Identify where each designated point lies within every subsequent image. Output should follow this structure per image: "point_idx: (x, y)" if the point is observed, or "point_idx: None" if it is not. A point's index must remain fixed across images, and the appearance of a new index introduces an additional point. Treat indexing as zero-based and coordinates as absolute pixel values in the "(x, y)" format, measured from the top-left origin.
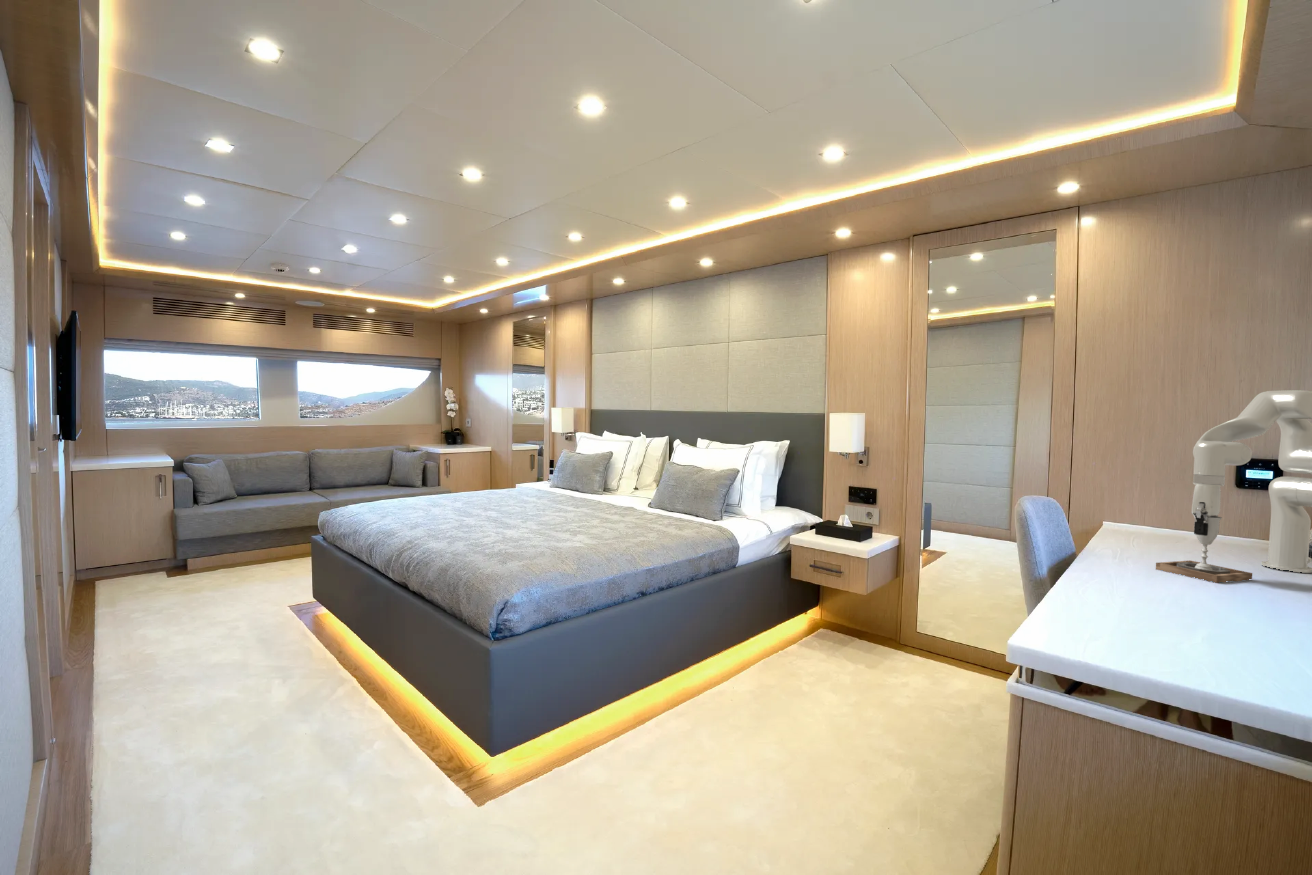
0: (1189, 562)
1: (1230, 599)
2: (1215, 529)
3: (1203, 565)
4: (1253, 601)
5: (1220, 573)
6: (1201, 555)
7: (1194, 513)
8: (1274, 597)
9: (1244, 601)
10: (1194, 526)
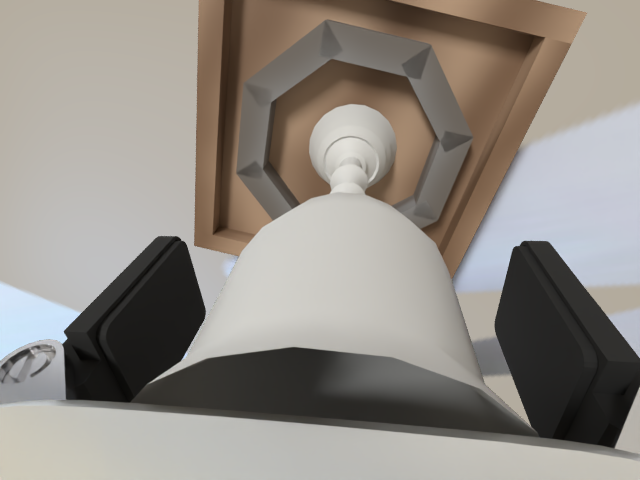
0: (430, 60)
1: (12, 305)
2: (281, 392)
3: (324, 168)
4: (65, 337)
5: None
6: (344, 170)
7: (122, 424)
8: (185, 356)
9: (36, 326)
10: (109, 285)
